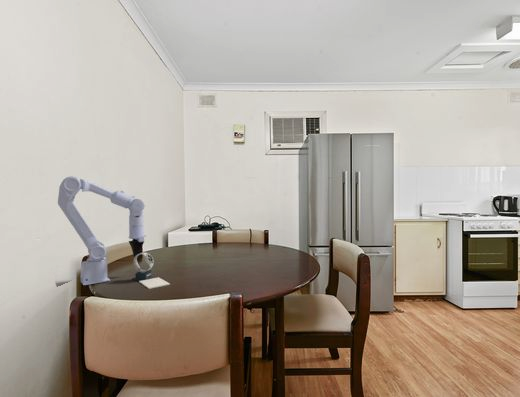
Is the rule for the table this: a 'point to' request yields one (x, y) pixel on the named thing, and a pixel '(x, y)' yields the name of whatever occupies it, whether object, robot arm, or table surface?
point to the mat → (154, 283)
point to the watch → (143, 273)
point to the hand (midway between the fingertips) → (136, 256)
